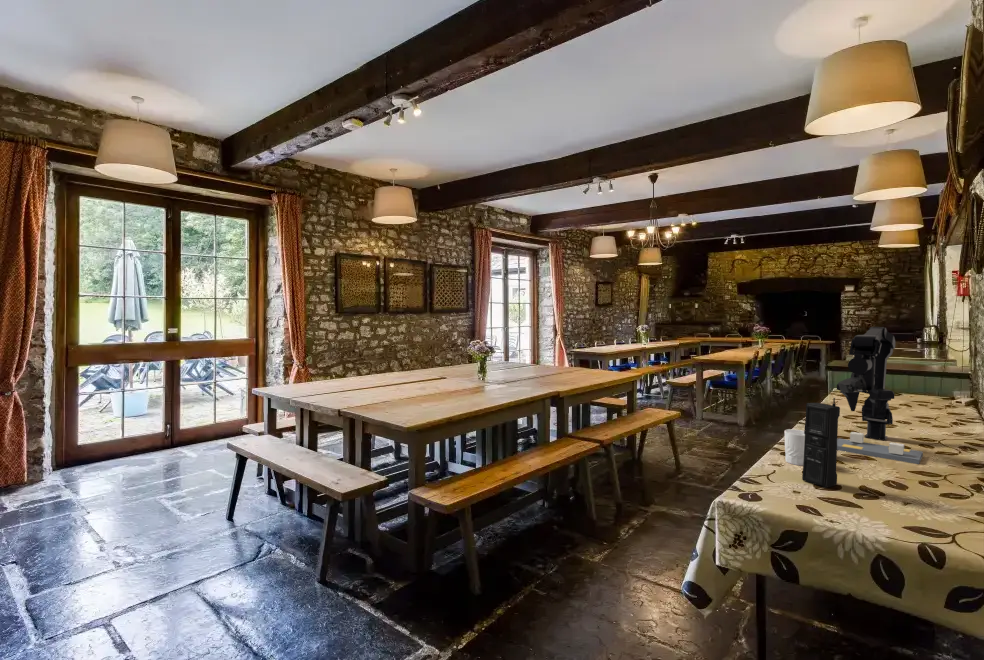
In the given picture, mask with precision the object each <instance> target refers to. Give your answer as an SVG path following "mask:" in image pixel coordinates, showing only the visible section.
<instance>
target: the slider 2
mask: <svg viewBox="0 0 984 660" xmlns="http://www.w3.org/2000/svg"><path fill="white" fill-rule="evenodd" d="M888 446H889V453H893V454H899V455H903V454H904V449H905V444H903V443H897V442H893V441H892V442H889V444H888Z"/></svg>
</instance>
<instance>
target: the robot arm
mask: <svg viewBox="0 0 984 660" xmlns="http://www.w3.org/2000/svg"><path fill="white" fill-rule="evenodd" d="M895 348H896V338H895V336H894V334H893V333H891V332H889V331H888V330H887V327H884V326H871V327H869V328H868V330H867V331H866V332H865V333H864V334H857V335H855V336H854V337H853V338H852V339H851V343H850V348H849V352H848V354H849V356H854V357H853V358H851V359H850V360H849V361H848V363H847V368H848V370H849V371H850V372H851V374H850V377H848V378H845V379H843V380H840V381H838V383H837V384H836V390H837V391H839V393H841V394H842V395H843V396H844V397H845V398H846V400H847V404H848V406H849V409H850V411H851V412H855V411H856V408H857V404H858V400H859V397H860V393H863V394H868V397H867V398H865V400H864V402H863V405H862V407H861V421H862V422H867V425H866V426H867V427H866V434H864V438H866V439H867V438H868V439H874V440H879V441H880V440H881V441H886V440H887V439H888V438H889V437H888V436H887V435H886V431H887V430H886V429H887V425H893V423H894V422H893V421H894V418H893V412H892V410H891V408H890V404H889V401H892V400H893V399H894V400H895V392H894V390H892V389H891V390H890V389H886V378H887V365H888V363H887V362H888V359H889V358H890V357H891V356H892V355H893V354H894V353H893V352H894V350H895Z"/></svg>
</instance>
